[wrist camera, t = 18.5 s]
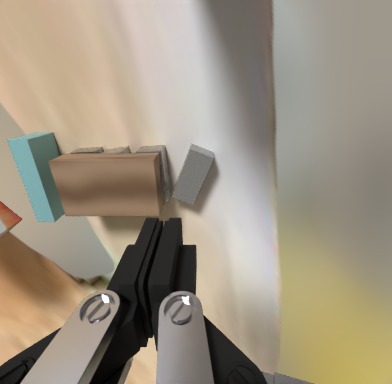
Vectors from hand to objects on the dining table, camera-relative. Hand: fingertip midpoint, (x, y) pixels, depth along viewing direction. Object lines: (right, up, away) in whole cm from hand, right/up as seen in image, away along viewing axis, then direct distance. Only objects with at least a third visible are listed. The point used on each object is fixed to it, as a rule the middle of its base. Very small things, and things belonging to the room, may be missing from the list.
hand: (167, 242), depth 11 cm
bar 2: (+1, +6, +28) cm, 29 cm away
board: (-12, +5, +25) cm, 28 cm away
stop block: (-24, +6, +29) cm, 38 cm away
